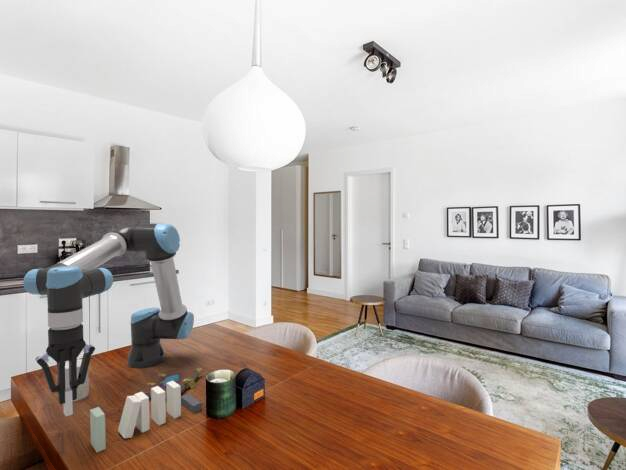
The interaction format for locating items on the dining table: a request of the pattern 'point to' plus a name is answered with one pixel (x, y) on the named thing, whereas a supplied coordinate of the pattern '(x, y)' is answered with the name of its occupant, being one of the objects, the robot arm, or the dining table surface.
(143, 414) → the domino
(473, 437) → the dining table surface
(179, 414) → the domino
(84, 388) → the cup
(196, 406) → the stop bar
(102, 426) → the domino
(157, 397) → the domino
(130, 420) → the domino
